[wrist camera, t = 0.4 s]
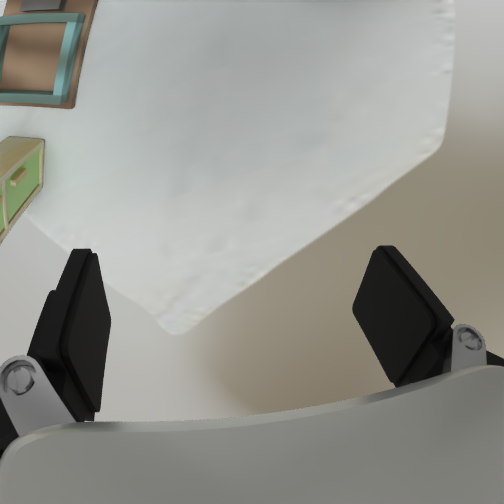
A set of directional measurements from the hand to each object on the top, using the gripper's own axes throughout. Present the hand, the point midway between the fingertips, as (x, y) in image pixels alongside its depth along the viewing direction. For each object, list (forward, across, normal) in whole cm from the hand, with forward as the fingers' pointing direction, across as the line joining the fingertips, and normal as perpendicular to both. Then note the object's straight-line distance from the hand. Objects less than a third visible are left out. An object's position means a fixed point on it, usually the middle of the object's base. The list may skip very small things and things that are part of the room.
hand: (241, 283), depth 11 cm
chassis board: (+36, +22, -11) cm, 44 cm away
